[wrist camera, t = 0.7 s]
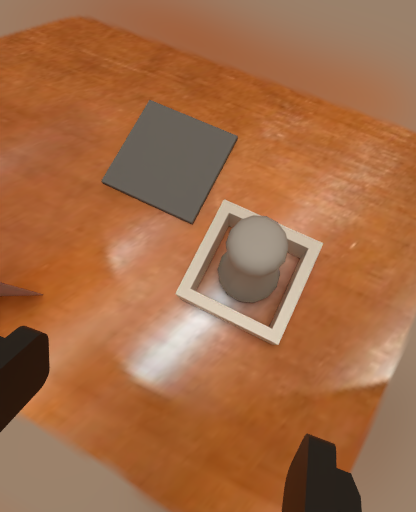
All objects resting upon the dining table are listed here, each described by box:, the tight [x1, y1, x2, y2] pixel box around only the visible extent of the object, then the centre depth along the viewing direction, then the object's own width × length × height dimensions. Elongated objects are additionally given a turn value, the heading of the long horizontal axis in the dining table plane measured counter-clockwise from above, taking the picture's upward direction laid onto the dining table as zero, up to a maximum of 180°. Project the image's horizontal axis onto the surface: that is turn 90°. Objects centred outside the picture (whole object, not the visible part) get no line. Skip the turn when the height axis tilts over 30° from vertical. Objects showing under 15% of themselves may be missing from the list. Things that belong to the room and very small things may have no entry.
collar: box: [176, 200, 323, 345], centre depth 35 cm, size 10×10×4 cm
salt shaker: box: [218, 215, 288, 303], centre depth 31 cm, size 6×6×13 cm
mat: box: [102, 100, 238, 225], centre depth 40 cm, size 11×11×1 cm
